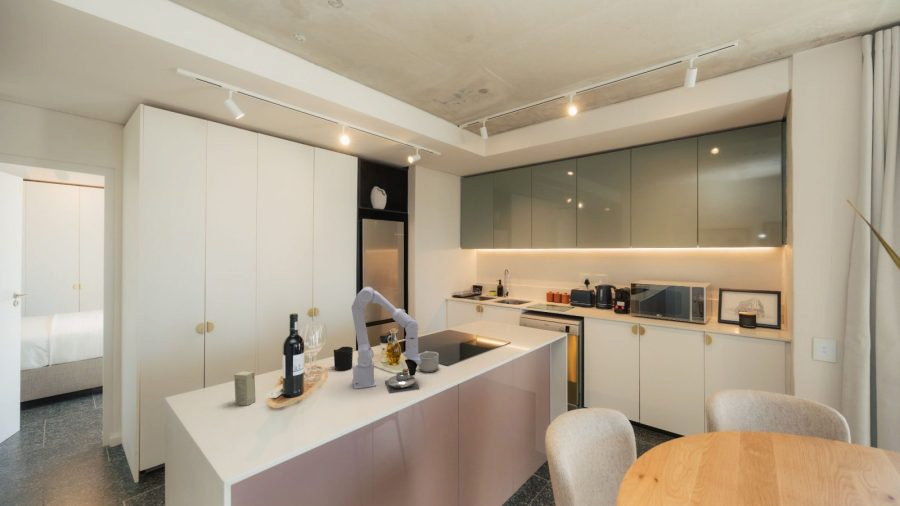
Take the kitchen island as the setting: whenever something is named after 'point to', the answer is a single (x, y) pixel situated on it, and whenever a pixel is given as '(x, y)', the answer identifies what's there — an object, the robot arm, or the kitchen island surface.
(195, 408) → the kitchen island surface
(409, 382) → the turntable
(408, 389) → the turntable base
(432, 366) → the teacup
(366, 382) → the robot arm
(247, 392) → the skincare box
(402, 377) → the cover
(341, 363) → the pen holder
